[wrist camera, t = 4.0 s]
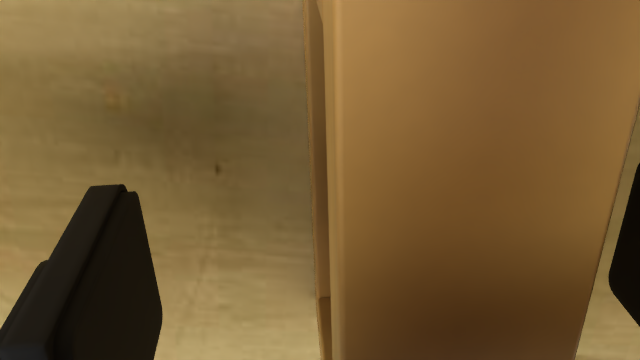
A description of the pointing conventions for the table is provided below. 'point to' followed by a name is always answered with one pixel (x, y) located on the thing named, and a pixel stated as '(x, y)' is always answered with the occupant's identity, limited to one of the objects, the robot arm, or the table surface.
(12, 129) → the table surface
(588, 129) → the frame
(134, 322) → the robot arm
